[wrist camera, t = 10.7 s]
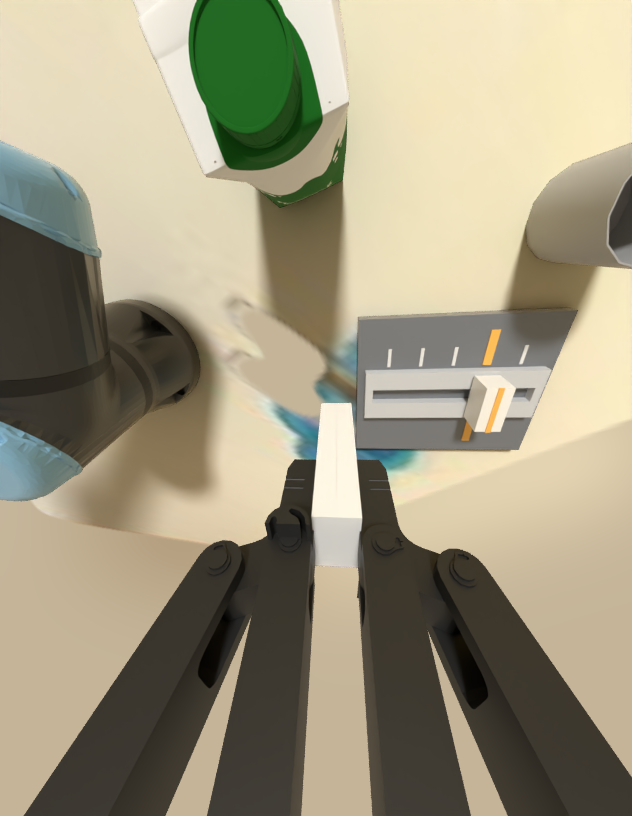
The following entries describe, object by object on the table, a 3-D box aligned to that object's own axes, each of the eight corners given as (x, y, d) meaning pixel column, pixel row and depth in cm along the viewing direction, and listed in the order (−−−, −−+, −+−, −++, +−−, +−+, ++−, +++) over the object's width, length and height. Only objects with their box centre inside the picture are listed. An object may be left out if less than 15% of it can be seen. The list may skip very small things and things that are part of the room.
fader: (460, 411, 37) (474, 432, 33) (470, 371, 34) (488, 388, 30) (482, 411, 37) (500, 432, 33) (495, 370, 34) (516, 388, 29)
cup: (621, 237, 27) (748, 234, 19) (529, 276, 30) (604, 289, 21) (627, 135, 23) (789, 73, 15) (522, 189, 26) (609, 161, 17)
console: (355, 442, 44) (356, 453, 41) (358, 317, 33) (359, 322, 31) (512, 443, 41) (522, 455, 39) (568, 307, 31) (586, 312, 28)
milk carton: (275, 221, 29) (178, 188, 12) (237, 108, 25) (5, -190, 8) (354, 187, 27) (371, 89, 10) (328, 58, 23) (281, -504, 6)
